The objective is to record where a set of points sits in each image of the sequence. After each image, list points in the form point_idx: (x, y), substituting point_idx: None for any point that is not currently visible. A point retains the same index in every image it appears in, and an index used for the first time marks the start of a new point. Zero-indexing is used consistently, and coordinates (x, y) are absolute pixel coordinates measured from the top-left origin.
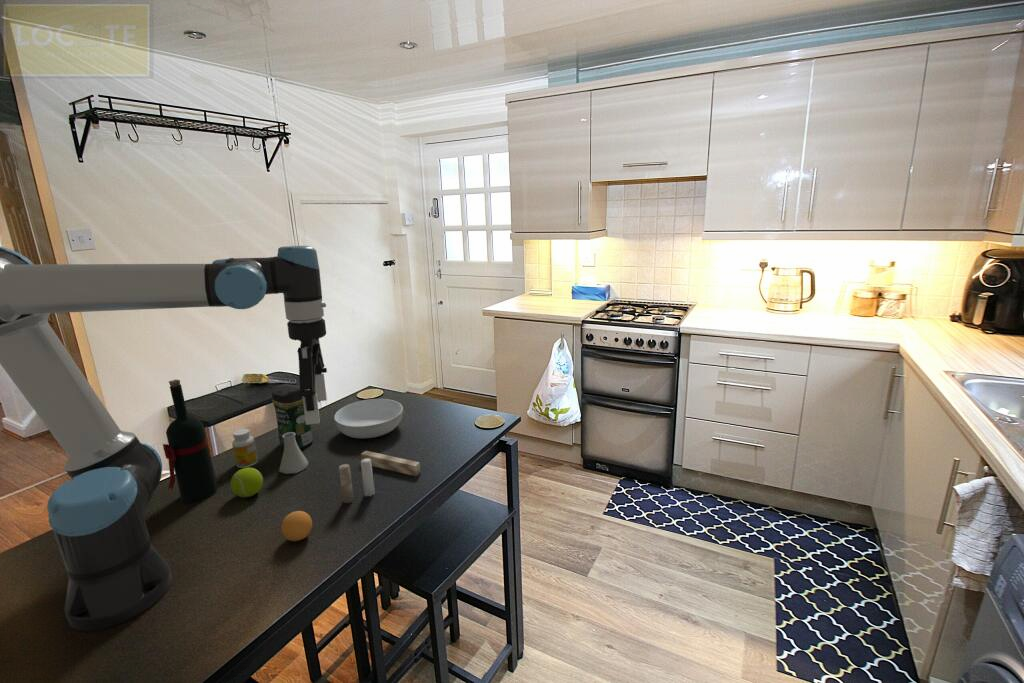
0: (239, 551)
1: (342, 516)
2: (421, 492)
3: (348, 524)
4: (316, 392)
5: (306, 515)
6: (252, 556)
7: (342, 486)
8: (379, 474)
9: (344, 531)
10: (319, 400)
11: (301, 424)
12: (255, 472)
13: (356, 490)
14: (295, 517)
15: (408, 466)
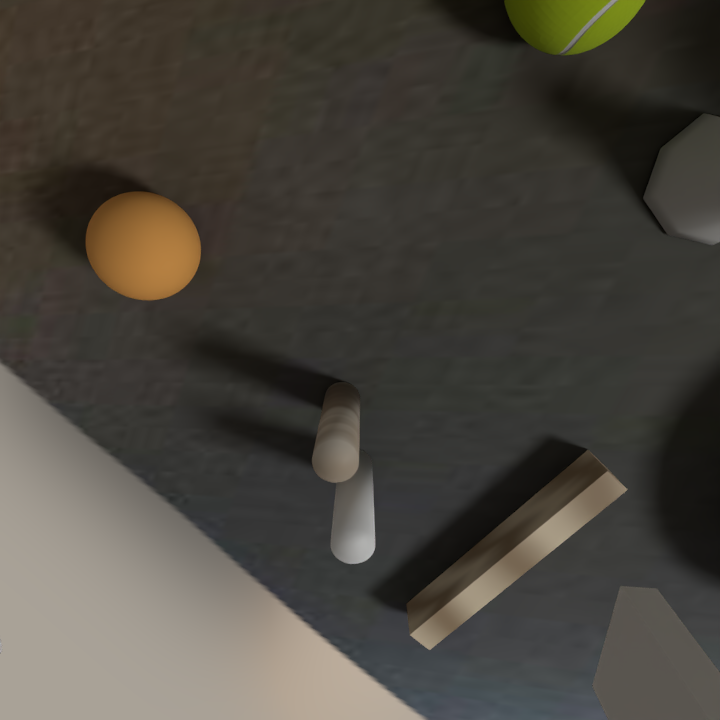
0: (142, 35)
1: (248, 378)
2: (303, 604)
3: (196, 395)
4: (677, 716)
5: (132, 290)
6: (101, 91)
7: (326, 410)
8: (474, 501)
9: (162, 383)
10: (611, 636)
11: None
12: (582, 7)
13: (397, 424)
14: (102, 254)
15: (430, 610)
